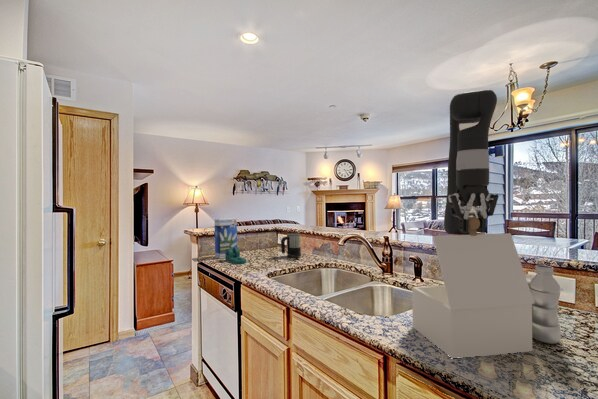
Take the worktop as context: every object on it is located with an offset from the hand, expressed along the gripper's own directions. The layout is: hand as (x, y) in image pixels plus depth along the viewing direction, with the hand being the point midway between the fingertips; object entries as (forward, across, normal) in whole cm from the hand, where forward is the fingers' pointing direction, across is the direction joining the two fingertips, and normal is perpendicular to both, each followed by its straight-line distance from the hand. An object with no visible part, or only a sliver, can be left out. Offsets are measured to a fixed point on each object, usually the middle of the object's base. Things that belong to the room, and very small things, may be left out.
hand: (472, 232), depth 79 cm
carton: (+30, 0, -2) cm, 30 cm away
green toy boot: (+33, +71, -115) cm, 139 cm away
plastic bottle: (+30, -19, +3) cm, 35 cm away
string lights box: (+33, +79, -132) cm, 157 cm away
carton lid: (+7, 0, +2) cm, 7 cm away
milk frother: (+33, +34, -120) cm, 129 cm away
